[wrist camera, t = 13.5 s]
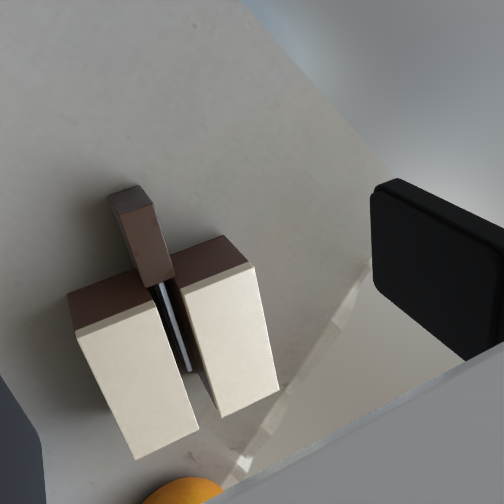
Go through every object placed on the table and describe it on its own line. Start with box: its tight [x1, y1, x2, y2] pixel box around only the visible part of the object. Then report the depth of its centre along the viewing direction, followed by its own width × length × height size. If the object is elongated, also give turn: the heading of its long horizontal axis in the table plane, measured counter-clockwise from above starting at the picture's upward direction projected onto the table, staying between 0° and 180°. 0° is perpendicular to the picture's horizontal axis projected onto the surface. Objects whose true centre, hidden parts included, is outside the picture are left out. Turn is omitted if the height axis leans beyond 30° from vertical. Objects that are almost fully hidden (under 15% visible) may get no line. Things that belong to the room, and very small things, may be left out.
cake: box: [67, 235, 279, 460], centre depth 39 cm, size 13×13×6 cm
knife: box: [108, 186, 193, 372], centre depth 37 cm, size 15×2×4 cm, turn 11°
